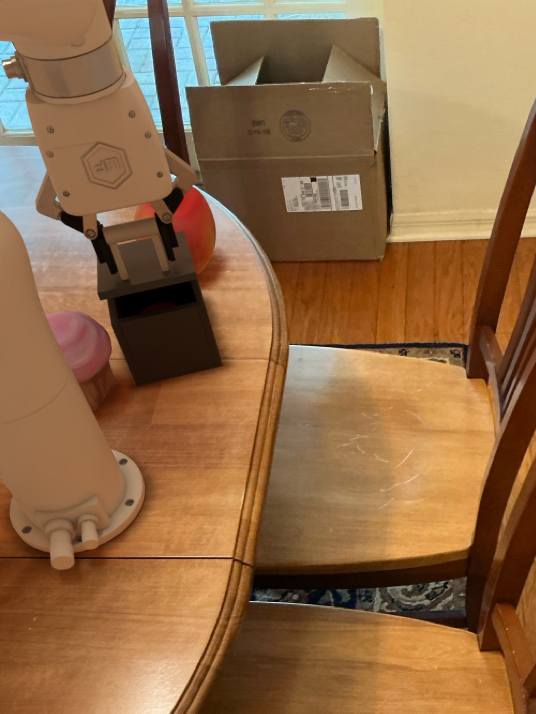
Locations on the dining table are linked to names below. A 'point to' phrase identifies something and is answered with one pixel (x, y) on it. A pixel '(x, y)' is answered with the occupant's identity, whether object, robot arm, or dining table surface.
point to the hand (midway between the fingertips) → (141, 258)
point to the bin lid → (142, 260)
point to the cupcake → (85, 352)
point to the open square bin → (164, 332)
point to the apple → (190, 226)
